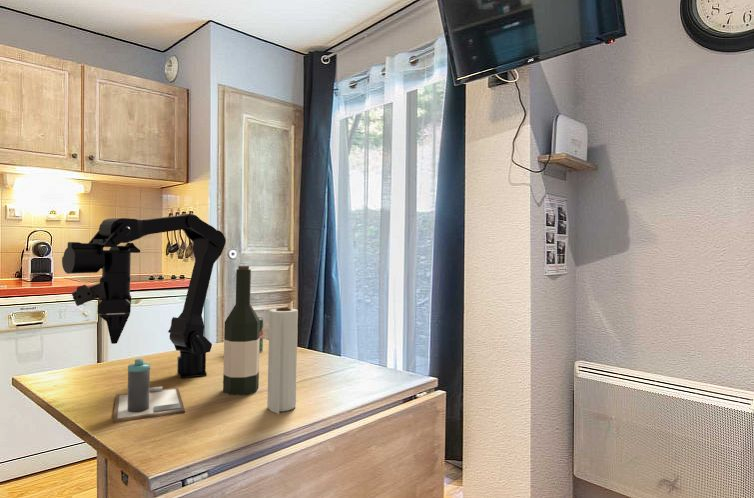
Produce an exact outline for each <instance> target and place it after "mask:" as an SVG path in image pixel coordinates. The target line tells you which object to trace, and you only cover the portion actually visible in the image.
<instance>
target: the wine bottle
mask: <svg viewBox="0 0 754 498" xmlns="http://www.w3.org/2000/svg"><path fill="white" fill-rule="evenodd" d="M237 267H238V268H237V269H236V273H235V275H236V278H235V279H236V280H235V304H234V306H233V307H232V309H231V310H230V313H229V314H228V316H227V317H226V319H225V321H224V332H223V333H224V335H223V336H224V338H223V380H222V382H223V383H222V392H223V393H224V394H225V395H228V396H247V395H250V394H255V393H257V391H258V389H259V384H260V383H259V382H260V377H259V376H260V374H259V373H260V353H259V344H260V320H259V318H258V317H259V316H258V315H257V313H256V311H255V310H254V308H253V306H252V304H251V288H252V287H251V284H252V283H251V279H252V276H251V275H252V269H250V265H238V266H237Z"/></svg>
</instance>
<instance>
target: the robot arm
mask: <svg viewBox="0 0 754 498" xmlns="http://www.w3.org/2000/svg"><path fill="white" fill-rule="evenodd" d="M181 230H182V231H183V232H184V234H185V236H186V238H188V240H190V241H192V253H193V256H194V265H193V267H192V272H191V276H190V280H189V285H188V288H187V292H186V297H185V300H184V301H185V302H184V305H183V309H182V312H181V313H180V314H179V315H178V317H175V316H173V317H172V318H171V320H170V321H171V323H170V328H169V330H168V331H167V333H169V340H170V341H171V344H173V346H174V349H175V351H179V356H177V364H176V365H177V366H176V367H177V369H176V372H177V375H179V377H180V379H181V378H182V379H184V378H194V377H202V376H203V377H204V376H207V375H208V373H207V369H206V365H207V363H206V361H207V353H210V352H211V349H212V346H213V344H212V342H211V341H210V340H208V338H207V337H206V336H205V323H204V319H203V312H204V306H205V303H206V297H207V294H208V290H209V287H210V282H211V277H212V274H213V269H214V268H213V267H214V265H215V262H216V261H217V260H218V259H219V258H220V256H221V255H222V254H223V251H224V248H225V245H226V243H227V242H226V241H227V239H226V237H225V235H224V233H223V232H222V231H220V230H218V229H216V228H215V227H214V226H213V225H210V224H209V223H207V222H205V221H204V220H202V219H201V218H200V217H198V215H196V214H194V213H182V214H180V215H179V214H178V215H171V216H162V217H153V218H145V219H141V218H131V217H130V218H129V217H128V218H127V217H116V218H106V219H104V220H102V222H101V223H100V224H99V227H98V230H97V232H96V233H95V234H94V235H93V237H92V238H91V239H90V241H88V242H87V243H84V242H77V241H68V242H67V247H66V249H65V250H64V252H63V256H62V257H61V265H62V270H63V271H64V272H65V274H74V275H75V274H96V273H99V272H100V270H101V277H100V278H99V282H98V283H96V284H91V285H89V286H88V285H87V284H83V285H78V286H77V287H76V290H73V291H72V292H71V296H72V300H74V302H75V305H76V307H79V306H81V305H84V304H85V303H88V302H91V301H93V300H97V299H98V301H99V303H98V304H97V310H96V311H97V314H98V317H99V318H101V319H103V320H104V321H105V322H106V326H107V329H108V333H109V339H110V343H111V344H115V345H116V344H117V343H119V339H120V337H121V336H122V333H123V331H124V329H125V326H126V324H127V322H128V320H129V317H130V316H131V306H132V295H131V259H132V258H131V256H132V253H133V254H138V253H140V252H141V249H140V248H138V247H137V246H136V245H135V244H134V242H133V241H137V240H139V239H141V238H143V237H146V236H149V235H154V234H159V233H161V234H162V233H167V232H172V231H173V232H174V231H181ZM120 244H125V245H120ZM104 248H109V249H104Z"/></svg>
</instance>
